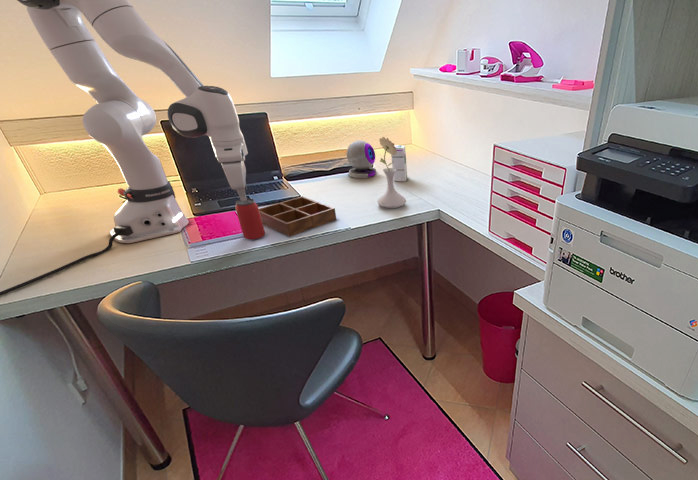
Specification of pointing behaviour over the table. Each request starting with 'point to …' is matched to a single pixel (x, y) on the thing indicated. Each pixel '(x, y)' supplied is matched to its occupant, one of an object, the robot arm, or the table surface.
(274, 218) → the tray
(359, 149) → the webcam
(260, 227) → the beer can
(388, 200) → the flower in vase
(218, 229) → the table surface
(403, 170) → the syrup box
